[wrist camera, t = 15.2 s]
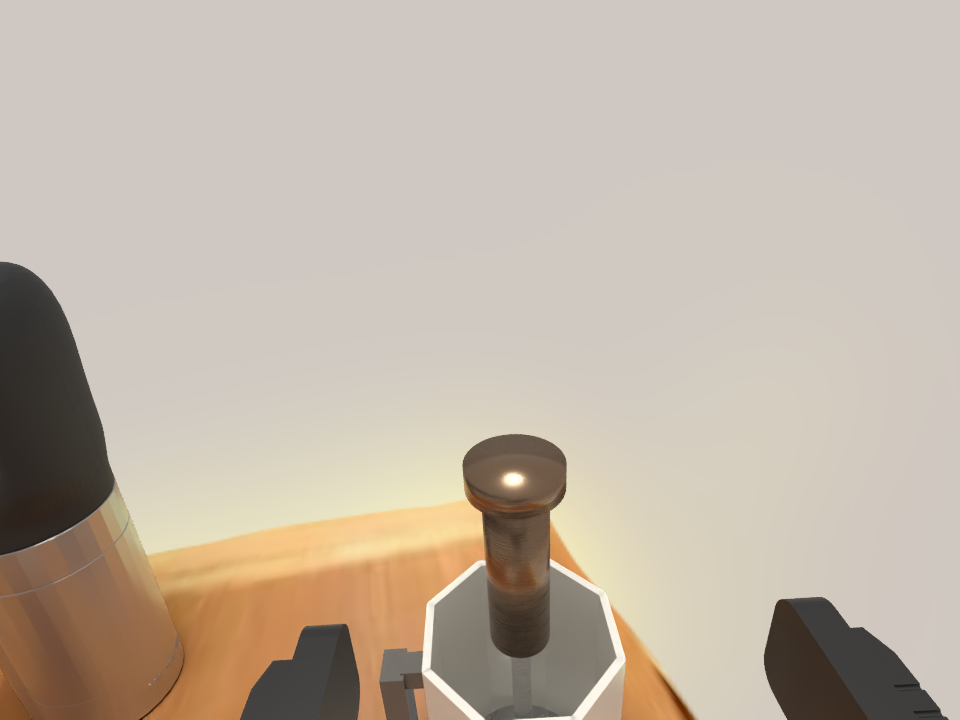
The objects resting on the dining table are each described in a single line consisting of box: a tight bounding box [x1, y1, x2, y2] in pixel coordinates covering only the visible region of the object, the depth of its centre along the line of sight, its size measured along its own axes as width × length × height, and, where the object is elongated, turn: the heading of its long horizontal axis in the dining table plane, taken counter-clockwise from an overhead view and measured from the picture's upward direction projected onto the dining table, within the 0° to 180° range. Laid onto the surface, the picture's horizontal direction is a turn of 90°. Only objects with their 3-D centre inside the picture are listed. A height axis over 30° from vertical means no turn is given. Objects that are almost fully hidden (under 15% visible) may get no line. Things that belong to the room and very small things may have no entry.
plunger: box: [463, 434, 566, 720], centre depth 28 cm, size 8×8×23 cm
